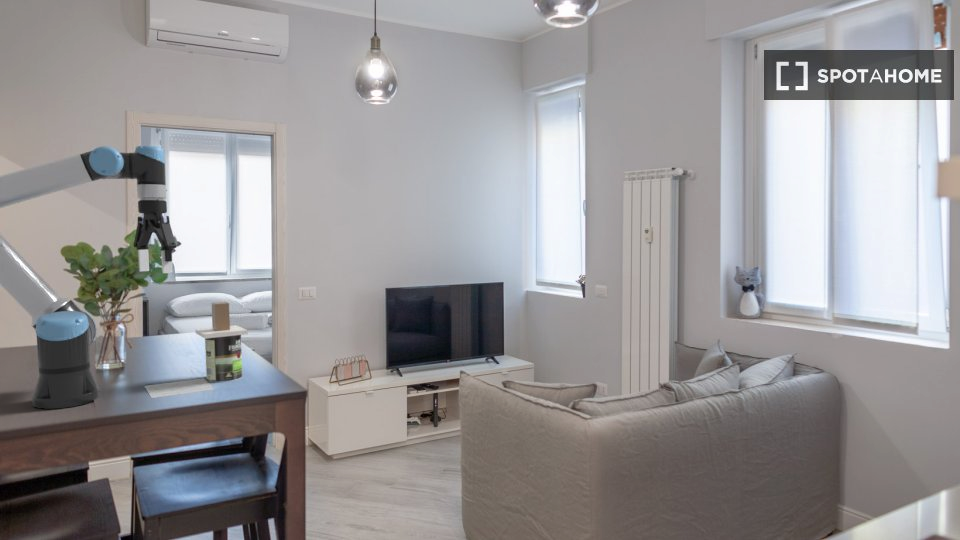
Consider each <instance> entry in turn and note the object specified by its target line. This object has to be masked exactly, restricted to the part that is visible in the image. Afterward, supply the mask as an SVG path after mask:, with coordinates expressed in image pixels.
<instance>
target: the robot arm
mask: <svg viewBox="0 0 960 540" xmlns="http://www.w3.org/2000/svg"><path fill="white" fill-rule="evenodd" d="M164 152H165V151H164V149H163V148H162V147H160V146H156V145H137V146H136V147H135V149H134V152H120V151H119V150H117V149H116V148H115V147H111V146H105V145H103V146H98V147H96V148H94V149H93V150H90V151H85V152H83V153H78V154H75V155H72V156H68V157H64V158H61V159H57V160H54V161H49V162H46V163H43V164H38V165H34V166H31V167H28V168H25V169H20V170H18V171H17V170H16V171H13V172H9V173H7V174H2V175H0V209H2V208H5V207H8V206H9V207H10V206H12V205H15V204H20V203H22V202H23V203H24V202H26V201H30V200H33V199H36V198H40V197H43V196H47V195H50V194H52V193H57V192H60V191H64V190H67V189H71V188H75V187H77V186H81V185H84V184H87V183H90V182H94V181H99V180H106V179H107V180H124V179H125V180H126V179H127V180H136V191H137V195H136V196H137V199H139V200H138V202H137V209H138V211H137V212H138V213H139V214H143V216H138V217H137V225H136V230H135V235H134V239H133V240H134V242H133V248H136V250H137V255H138V257H137V259H138V272H140V273H141V272H149V271H150V260H149V259H150V258H149V257H150V255H149V249H150V248H149V246H148V245H149V243H150V240H151V237H152V234H153V233H154V234H155V236H156V238H157V239H158V242H159V244H160V246H161V249H160V253H161V255H160V257H161V273H162V274H172V273H174V269H173V250H174V249H176V248H177V243H176V240H175V237H174V233H173V229H172V227H171V223H170V216H169V215H163V214H166V213H167V212H168V206H167V203H168V202H167V201H166V200H165V199H167V191H168V190H167V189H166V187H167V186H166V160H165V153H164ZM0 286H1V287H2V288H3V289H4V290H5V291H6V292H7V293H8V294H9V295H10V296H11V297H12V298H13V299H14V301H16V303H18V305H20V306H21V308H22V309H24V310H25V312H27V314H28V315H29V316H30V317H31V327H32V328H33V329H34V330H35V331H34V332H35V334H36V345H37V361H38V362H37V364H38V378H37V381H36V384H35V388H34V391H33V394H32V398H31V399H32V407H33V406H34V408H35V407H37V408H36V409H41V408H44V409H45V410H47V409H48V410H50V409H51V410H52V409H55V410H56V409H64V408H71V407H76V406H82V405H85V404H90V403H93V402H94V401H95V400H96V399H99V397H100V387H99V386H98V384H97V381H96V379H95V377H94V375H93V372H92V371H91V357H90V356H91V355H90V346H91V345H92V343H93V342H94V340H95V338H96V334H97V327H96V326H97V325H96V323H95V321H94V318H93V317H92V316H91V315H89V313H87V312H86V311H83V310H81V309H80V308H79V306H77V304H76V303H75V302H74V301H73V300H72V299H70V298H63V297H61V296H60V295H59V294H58V293H57V291H56V290H55V289H53V288H52V287H51V285H50V284H49V283H48V282H47V281H46V280H45V279H44V278H43V277H42V276H41V275H40V273H38V272H37V271H36V269H34V267H33V266H32V265H31V264H30V263H29V262H28V261H27V260H26V259H25V257H24V256H23V255H21V254H20V252H19V251H17V250H16V247H14V246H13V245H12V244H11V243H10V241H8V240H7V239H6V237H4V235H2V233H0ZM44 409H43V410H44Z"/></svg>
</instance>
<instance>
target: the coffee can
mask: <svg viewBox="0 0 960 540" xmlns="http://www.w3.org/2000/svg"><path fill="white" fill-rule="evenodd" d="M204 346H205V351H204V352H205V367H206V369H205V370H206V381H207V382H209V383H210V382H212V383H223V382H232V381H237V380H240V379H242V378H243V362H242V361H243V357H242V356H243V354H242V335H235V336H225V337H216V338H206V339H205V338H204Z"/></svg>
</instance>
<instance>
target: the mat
mask: <svg viewBox="0 0 960 540" xmlns="http://www.w3.org/2000/svg"><path fill="white" fill-rule="evenodd" d="M144 388H145V390H146V391H147V393H148V395H149V397H150V398H151V399H154V398H155V399H156V398H163V397H171V396H178V395H185V394H192V393H199V392H206V391H213V390H214V391H215V390H216V389H215V387H214V386H212V385H211V383H210V382H209V381H207V379H205V378H203V377H202V378H195V379H189V380H181V381H171V382H165V383H156V384H150V385H144Z"/></svg>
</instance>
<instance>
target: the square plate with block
mask: <svg viewBox="0 0 960 540" xmlns="http://www.w3.org/2000/svg"><path fill="white" fill-rule="evenodd" d="M211 321H212V322H211V324H212V325H211V326H212V327H203V328H195V334H196V335H198V336H200V337H201V338H203V339H204V340H205V339H206V338H216V337H225V336H235V335H241V336H243V335H244V336H245V335H248V334H249V333H248V329H246V328H244V327H241V326H240V325H237V324H235V325H231V324H230V322H231V320H230V303H229V302H227V301H220V302H219V301H218V302H211Z"/></svg>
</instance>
